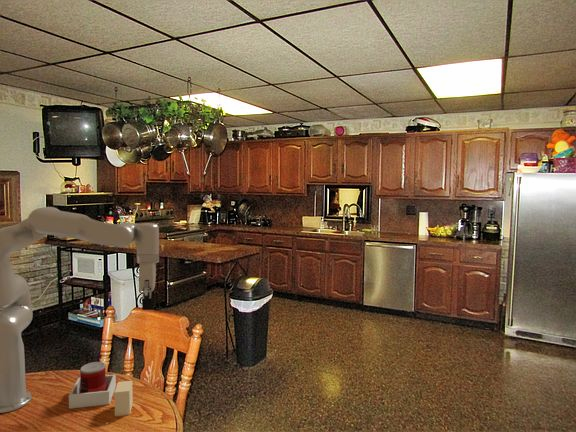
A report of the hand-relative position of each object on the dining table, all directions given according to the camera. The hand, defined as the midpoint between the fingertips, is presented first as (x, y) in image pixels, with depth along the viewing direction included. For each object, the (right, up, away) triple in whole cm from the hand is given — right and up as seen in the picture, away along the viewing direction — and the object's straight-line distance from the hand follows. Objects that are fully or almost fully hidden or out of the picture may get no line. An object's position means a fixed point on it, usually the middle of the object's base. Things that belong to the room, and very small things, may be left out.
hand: (148, 305), depth 144 cm
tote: (-18, -31, -3) cm, 36 cm away
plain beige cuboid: (-4, -32, -11) cm, 34 cm away
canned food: (-18, -32, -3) cm, 36 cm away
